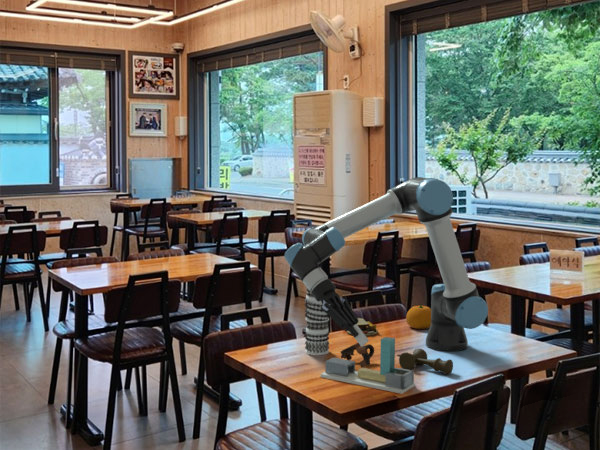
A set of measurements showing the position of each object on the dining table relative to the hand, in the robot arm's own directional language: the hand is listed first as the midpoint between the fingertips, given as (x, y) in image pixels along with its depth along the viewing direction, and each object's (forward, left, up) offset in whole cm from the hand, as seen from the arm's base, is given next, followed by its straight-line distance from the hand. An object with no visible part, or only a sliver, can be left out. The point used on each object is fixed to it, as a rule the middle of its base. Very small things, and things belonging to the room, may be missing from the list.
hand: (365, 343), depth 231 cm
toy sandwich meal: (+1, -61, -12) cm, 62 cm away
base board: (0, 0, -12) cm, 12 cm away
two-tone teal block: (-5, +3, -10) cm, 12 cm away
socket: (-10, +6, -12) cm, 17 cm away
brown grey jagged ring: (+2, -19, -12) cm, 22 cm away
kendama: (-19, -14, -12) cm, 27 cm away
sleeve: (+8, -4, -12) cm, 15 cm away
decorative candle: (+16, -32, -12) cm, 38 cm away
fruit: (-24, -72, -12) cm, 76 cm away
